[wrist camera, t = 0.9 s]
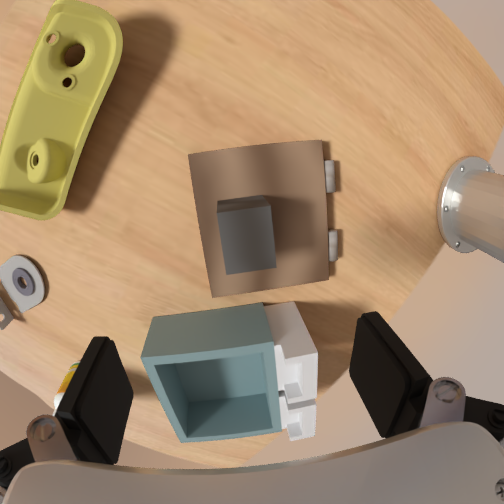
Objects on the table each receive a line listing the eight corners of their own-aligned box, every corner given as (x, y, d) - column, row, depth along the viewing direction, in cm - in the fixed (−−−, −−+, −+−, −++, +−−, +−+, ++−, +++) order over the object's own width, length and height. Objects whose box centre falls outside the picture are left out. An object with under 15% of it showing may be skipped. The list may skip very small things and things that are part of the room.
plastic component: (59, 225, 24) (-27, 202, 18) (65, 195, 30) (-6, 176, 23) (144, 24, 18) (46, -8, 12) (136, 34, 23) (58, 7, 17)
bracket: (56, 291, 29) (43, 306, 26) (13, 317, 30) (1, 331, 27) (28, 243, 27) (12, 254, 24) (-12, 276, 27) (-26, 287, 24)
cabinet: (183, 402, 36) (180, 455, 28) (153, 317, 31) (136, 371, 23) (297, 386, 37) (314, 438, 29) (293, 297, 32) (318, 348, 24)
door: (212, 292, 31) (211, 325, 25) (189, 154, 26) (180, 156, 20) (335, 273, 32) (358, 300, 26) (329, 139, 27) (356, 139, 21)
